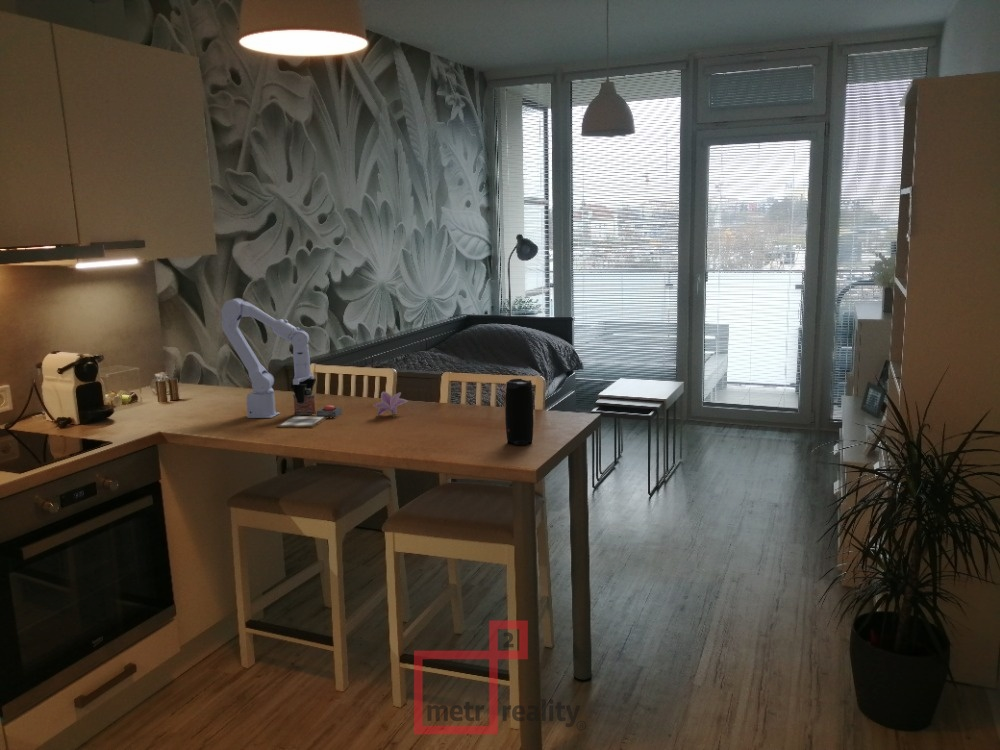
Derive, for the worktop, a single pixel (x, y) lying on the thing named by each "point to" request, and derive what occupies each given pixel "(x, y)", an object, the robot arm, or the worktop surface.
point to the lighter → (305, 404)
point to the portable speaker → (519, 412)
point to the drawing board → (302, 421)
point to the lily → (389, 403)
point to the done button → (329, 407)
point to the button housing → (330, 412)
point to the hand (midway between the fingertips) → (304, 400)
